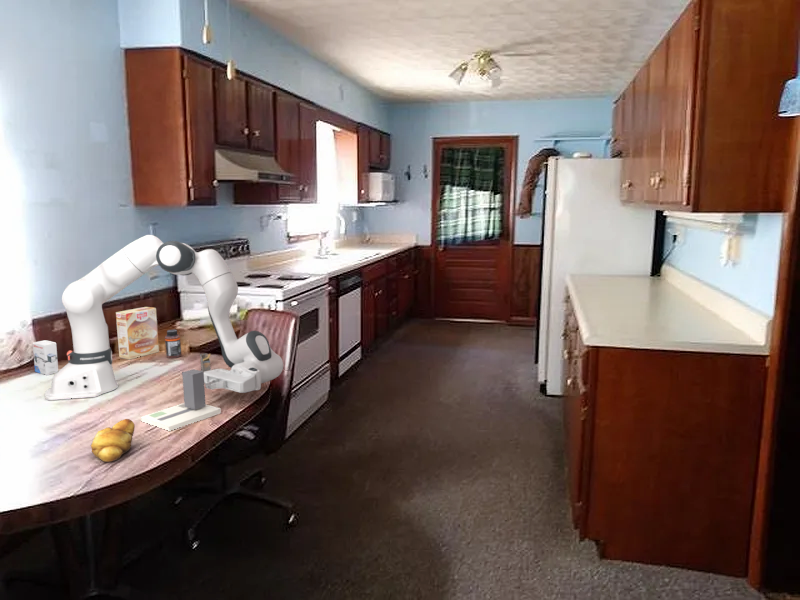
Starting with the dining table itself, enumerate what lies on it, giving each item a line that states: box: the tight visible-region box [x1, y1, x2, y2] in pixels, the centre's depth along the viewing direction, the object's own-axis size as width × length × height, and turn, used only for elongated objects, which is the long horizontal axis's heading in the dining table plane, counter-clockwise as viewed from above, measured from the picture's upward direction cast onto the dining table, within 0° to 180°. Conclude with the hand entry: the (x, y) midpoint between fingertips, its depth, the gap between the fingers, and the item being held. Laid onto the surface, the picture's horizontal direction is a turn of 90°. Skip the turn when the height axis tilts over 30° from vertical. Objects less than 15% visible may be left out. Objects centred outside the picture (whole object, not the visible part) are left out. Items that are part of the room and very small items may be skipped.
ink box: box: [32, 339, 59, 376], centre depth 232 cm, size 9×5×12 cm, turn 58°
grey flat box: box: [199, 353, 212, 372], centre depth 226 cm, size 11×3×10 cm, turn 22°
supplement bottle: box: [164, 329, 182, 359], centre depth 253 cm, size 6×6×11 cm
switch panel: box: [140, 402, 222, 432], centre depth 184 cm, size 18×14×2 cm
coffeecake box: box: [115, 306, 160, 360], centre depth 256 cm, size 15×7×20 cm, turn 151°
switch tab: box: [181, 368, 207, 410], centre depth 186 cm, size 4×5×11 cm
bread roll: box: [90, 418, 135, 463], centre depth 157 cm, size 13×10×8 cm
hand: (208, 386), depth 191 cm, fingers closed
